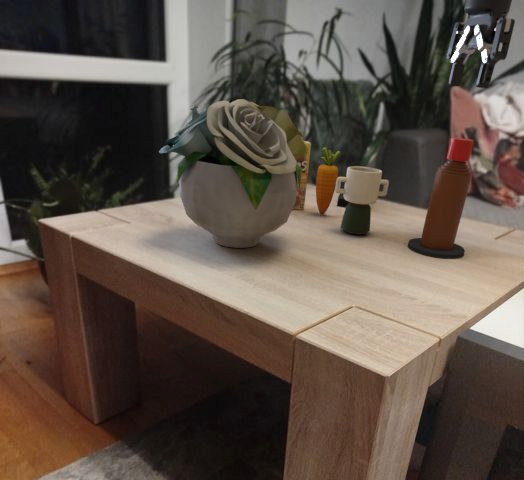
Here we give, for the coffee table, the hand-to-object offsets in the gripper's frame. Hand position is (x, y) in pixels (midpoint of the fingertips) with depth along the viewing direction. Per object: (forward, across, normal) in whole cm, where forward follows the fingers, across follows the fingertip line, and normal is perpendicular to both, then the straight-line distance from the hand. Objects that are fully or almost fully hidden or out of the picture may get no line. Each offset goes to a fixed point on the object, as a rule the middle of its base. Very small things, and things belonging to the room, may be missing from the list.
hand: (467, 86), depth 94 cm
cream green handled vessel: (+29, +5, +16) cm, 34 cm away
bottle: (+28, -7, +3) cm, 29 cm away
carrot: (+29, +19, +17) cm, 39 cm away
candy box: (+30, +26, +24) cm, 46 cm away
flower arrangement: (+30, -1, +43) cm, 52 cm away
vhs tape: (+29, +33, +3) cm, 44 cm away
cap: (+12, -7, +3) cm, 14 cm away
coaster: (+29, -7, +3) cm, 30 cm away
